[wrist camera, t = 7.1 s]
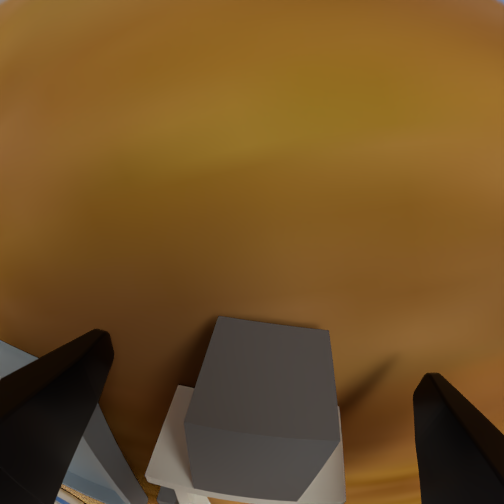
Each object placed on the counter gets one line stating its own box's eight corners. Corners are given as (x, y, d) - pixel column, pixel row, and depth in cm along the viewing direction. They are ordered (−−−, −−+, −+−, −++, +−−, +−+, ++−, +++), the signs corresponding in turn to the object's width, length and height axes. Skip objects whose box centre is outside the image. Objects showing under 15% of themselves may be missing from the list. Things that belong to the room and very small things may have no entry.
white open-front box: (292, 488, 14) (288, 545, 10) (190, 474, 14) (175, 530, 11) (375, 324, 8) (407, 438, 5) (171, 296, 9) (113, 402, 5)
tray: (148, 498, 19) (142, 516, 17) (44, 455, 19) (36, 469, 18) (87, 377, 11) (67, 409, 10) (-43, 316, 12) (-62, 333, 10)
